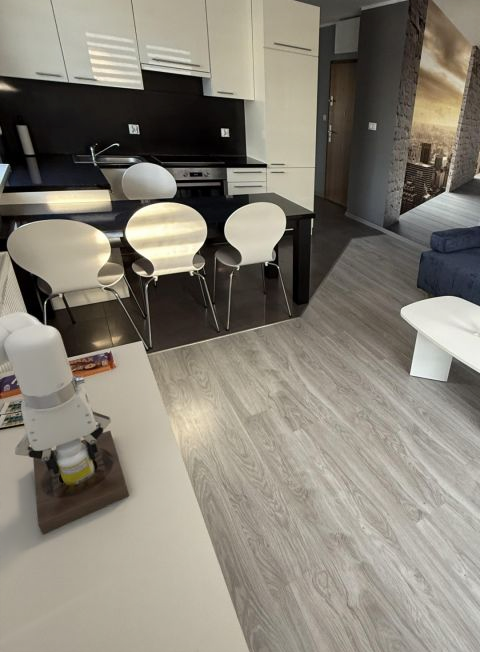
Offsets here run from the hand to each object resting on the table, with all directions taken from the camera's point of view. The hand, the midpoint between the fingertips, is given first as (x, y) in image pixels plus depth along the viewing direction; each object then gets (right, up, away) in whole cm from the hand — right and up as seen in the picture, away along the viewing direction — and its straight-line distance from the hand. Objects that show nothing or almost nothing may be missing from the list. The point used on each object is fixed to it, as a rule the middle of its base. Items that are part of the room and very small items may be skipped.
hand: (74, 461), depth 79 cm
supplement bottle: (0, -5, +2) cm, 5 cm away
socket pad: (0, -5, +2) cm, 6 cm away
